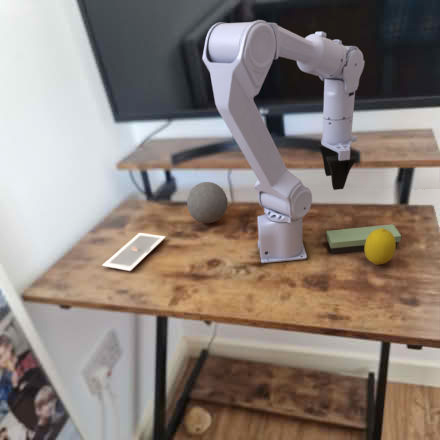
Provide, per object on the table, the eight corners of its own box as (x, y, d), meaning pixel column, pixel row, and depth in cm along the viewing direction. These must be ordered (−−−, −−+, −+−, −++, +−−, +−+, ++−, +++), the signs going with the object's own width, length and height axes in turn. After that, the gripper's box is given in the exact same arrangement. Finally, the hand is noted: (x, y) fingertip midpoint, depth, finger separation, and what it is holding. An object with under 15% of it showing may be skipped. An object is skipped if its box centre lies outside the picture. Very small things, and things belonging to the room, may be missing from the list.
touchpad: (103, 269, 90) (100, 261, 89) (140, 236, 101) (138, 228, 99) (131, 274, 87) (128, 266, 86) (166, 240, 97) (165, 232, 96)
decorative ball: (182, 226, 102) (175, 188, 96) (205, 209, 108) (200, 173, 102) (214, 233, 97) (209, 195, 91) (236, 215, 103) (233, 178, 97)
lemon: (394, 272, 77) (400, 236, 72) (363, 272, 78) (367, 236, 73) (390, 257, 81) (396, 221, 76) (361, 256, 82) (365, 221, 78)
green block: (330, 255, 84) (331, 242, 82) (325, 242, 88) (326, 230, 86) (399, 248, 83) (401, 235, 81) (391, 236, 87) (393, 224, 85)
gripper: (369, 123, 74) (361, 193, 82) (349, 104, 85) (344, 167, 93) (330, 128, 74) (326, 197, 82) (315, 109, 86) (314, 171, 94)
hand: (334, 181), depth 88 cm, fingers open, 7 cm apart
